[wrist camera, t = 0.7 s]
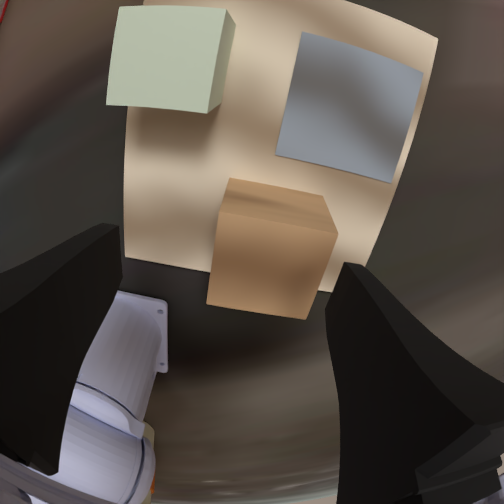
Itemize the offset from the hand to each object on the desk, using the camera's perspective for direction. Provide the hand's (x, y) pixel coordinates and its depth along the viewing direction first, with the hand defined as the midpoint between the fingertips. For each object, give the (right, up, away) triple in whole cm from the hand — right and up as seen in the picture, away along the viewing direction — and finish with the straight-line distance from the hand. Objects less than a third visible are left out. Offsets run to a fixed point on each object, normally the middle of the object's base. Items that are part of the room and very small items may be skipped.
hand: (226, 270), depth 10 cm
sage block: (-3, +10, +4) cm, 11 cm away
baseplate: (+2, +7, +7) cm, 10 cm away
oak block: (+2, +2, +9) cm, 10 cm away
